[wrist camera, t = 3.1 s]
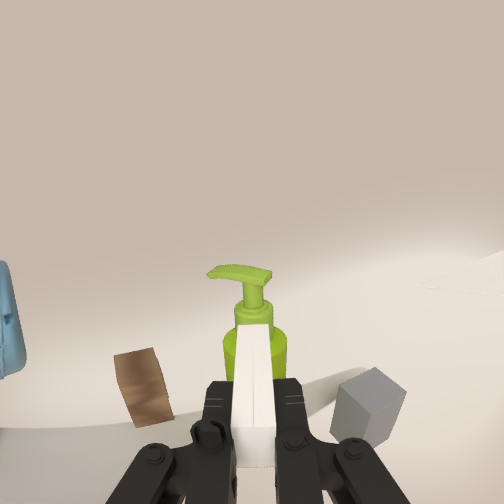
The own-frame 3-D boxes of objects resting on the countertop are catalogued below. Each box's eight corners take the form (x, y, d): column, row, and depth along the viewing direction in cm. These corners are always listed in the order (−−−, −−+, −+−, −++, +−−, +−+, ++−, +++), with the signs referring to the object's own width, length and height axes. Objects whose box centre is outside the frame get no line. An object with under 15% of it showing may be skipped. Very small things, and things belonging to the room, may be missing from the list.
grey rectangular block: (355, 459, 27) (371, 414, 25) (329, 432, 32) (339, 385, 29) (389, 437, 29) (407, 390, 27) (363, 414, 34) (376, 366, 31)
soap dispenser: (238, 402, 37) (226, 253, 31) (290, 416, 35) (297, 262, 28) (216, 433, 32) (192, 277, 26) (272, 452, 30) (273, 292, 23)
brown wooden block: (135, 428, 32) (117, 381, 30) (130, 401, 37) (113, 355, 34) (175, 419, 34) (162, 372, 32) (166, 393, 39) (154, 347, 36)
